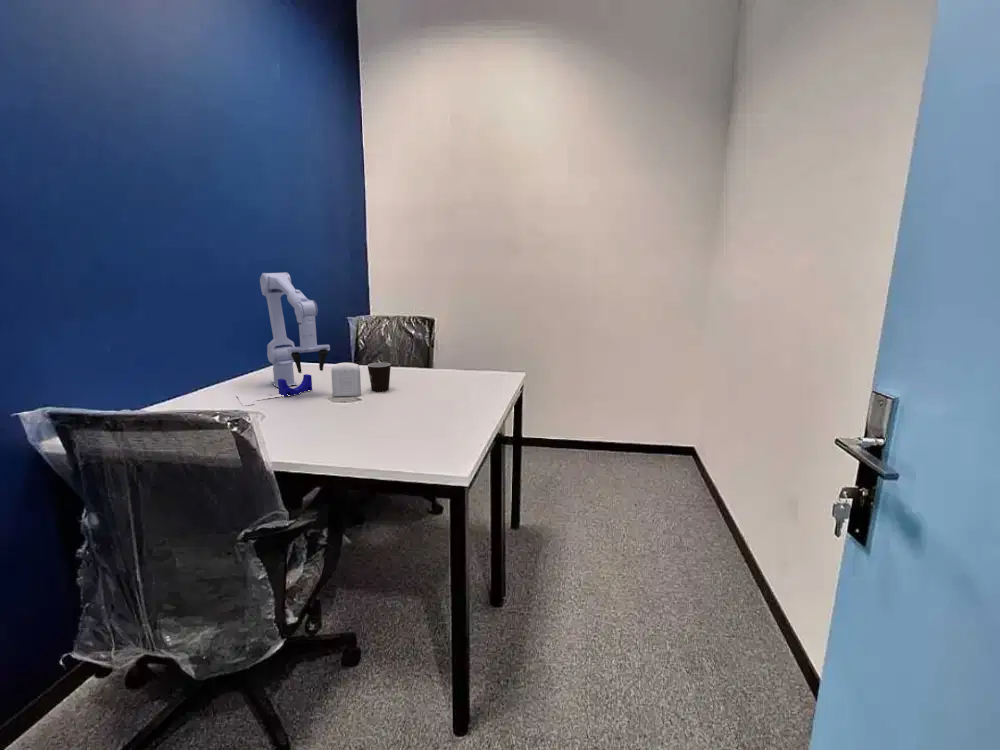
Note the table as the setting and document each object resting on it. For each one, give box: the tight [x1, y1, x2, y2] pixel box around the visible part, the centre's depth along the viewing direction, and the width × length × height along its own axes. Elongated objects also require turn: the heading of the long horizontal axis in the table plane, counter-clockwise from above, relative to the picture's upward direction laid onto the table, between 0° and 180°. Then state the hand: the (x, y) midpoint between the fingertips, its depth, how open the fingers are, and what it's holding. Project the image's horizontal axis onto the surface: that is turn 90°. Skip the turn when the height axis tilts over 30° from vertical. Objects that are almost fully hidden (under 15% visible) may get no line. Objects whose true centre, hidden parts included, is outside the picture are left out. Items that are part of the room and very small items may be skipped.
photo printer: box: [331, 362, 362, 397], centre depth 207 cm, size 10×4×12 cm, turn 98°
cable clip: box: [277, 374, 313, 396], centre depth 210 cm, size 12×4×6 cm, turn 141°
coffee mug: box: [367, 362, 392, 393], centre depth 216 cm, size 12×9×10 cm
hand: (310, 371), depth 205 cm, fingers open, 7 cm apart
